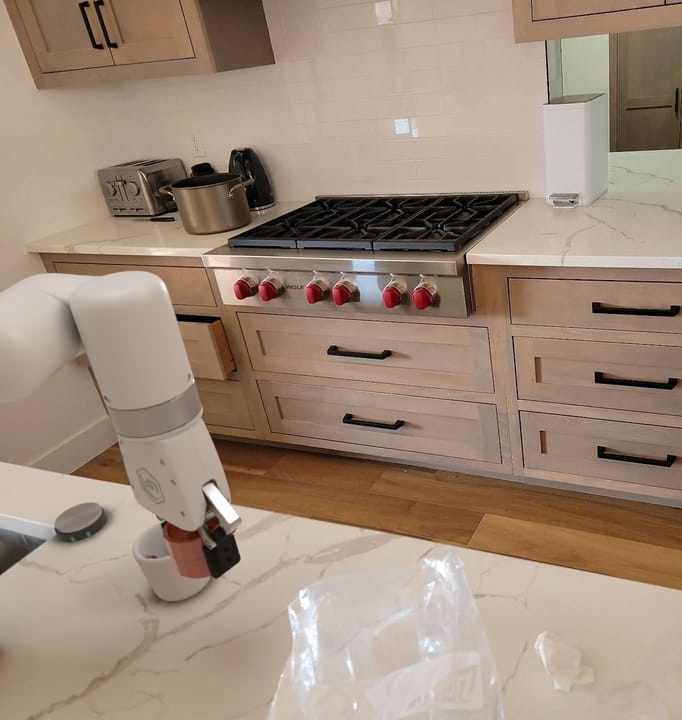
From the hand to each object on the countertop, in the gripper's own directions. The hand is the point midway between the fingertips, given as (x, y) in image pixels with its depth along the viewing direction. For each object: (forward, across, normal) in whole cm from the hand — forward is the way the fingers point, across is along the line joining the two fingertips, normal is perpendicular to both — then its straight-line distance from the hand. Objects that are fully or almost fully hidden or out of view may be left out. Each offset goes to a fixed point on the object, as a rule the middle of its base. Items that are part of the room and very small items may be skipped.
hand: (205, 555), depth 70 cm
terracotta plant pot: (+1, 0, 0) cm, 1 cm away
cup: (+14, -15, +4) cm, 21 cm away
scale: (+14, -38, +2) cm, 40 cm away
